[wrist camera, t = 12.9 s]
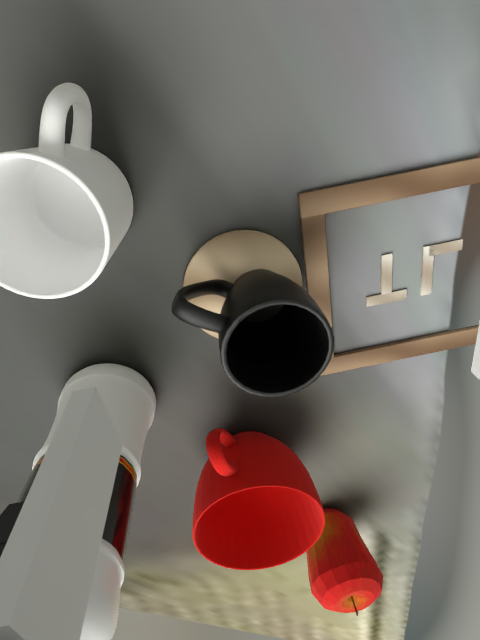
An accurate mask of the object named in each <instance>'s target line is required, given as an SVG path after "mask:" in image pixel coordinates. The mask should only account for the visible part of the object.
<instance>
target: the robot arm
mask: <svg viewBox="0 0 480 640" xmlns="http://www.w3.org/2000/svg"><path fill="white" fill-rule="evenodd" d="M471 372H472V373H473V374H474V375H475V376H476V377H477V378H478V379H479V380H480V323H479V328H478V334H477V340H476V346H475V352H474V357H473V364H472V369H471ZM122 445H123V442H122V440H121V438H120V436H119V434H118V432H117V430H116V428H115V426H114V424H113V422H112V420H111V418H110V416H109V414H108V412H107V410H106V408H105V405H104V403H103V401H102V399H101V397H100V395H99V393H98V391H97V389H96V387H91V388H86V389H81V390H76V391H73V392H72V394H71V396H70V399H69V401H68V403H67V406H66V408H65V410H64V412H63V415H62V417H61V419H60V422H59V424H58V426H57V429H56V431H55V433H54V435H53V438H52V440H51V442H50V445H49V447H48V449H47V451H46V454H45V456H44V458H43V461H42V463H41V465H40V468H39V470H38V472H37V474H36V477H35V479H34V481H33V484H32V486H31V488H30V490H29V493H28V495H27V497H26V500H25V501H24V502H19V503H14V504H9V505H8V506H7V508H6V509H5V510H4V511H3V513H2V514H1V515H0V640H80V636H81V631H82V627H83V622H84V618H85V613H86V608H87V604H88V599H89V595H90V590H91V586H92V581H93V577H94V572H95V567H96V563H97V558H98V554H99V549H100V545H101V540H102V536H103V531H104V527H105V522H106V517H107V513H108V508H109V504H110V499H111V495H112V490H113V486H114V481H115V476H116V472H117V467H118V463H119V458H120V454H121V449H122Z"/></svg>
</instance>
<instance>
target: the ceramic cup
mask: <svg viewBox="0 0 480 640" xmlns="http://www.w3.org/2000/svg"><path fill="white" fill-rule="evenodd" d="M220 442H221V443H222V444H221V443H220ZM206 448H207V453H208V456H209V459H208V461H207V462H206V464H205V466H204V468H203V470H202V473H201V476H200V479H199V482H198V486H197V490H196V495H195V502H194V513H193V540H194V544H195V546H196V548H197V549H198V551H199V552H200V554H201V555H203V556H204V557H205V558H206V559H207V560H209V561H211V562H213V563H215V564H217V565H220V566H223V567H226V568H231V569H237V570H256V569H264V568H270V567H274V566H277V565H281V564H284V563H286V562H288V561H291V560H293V559H295V558H297V557H298V556H300V555H302V554H303V553H305V552H306V551H307V550H308V549H310V548H311V547H312V546H313V545H314V544H315V543H316V541H317V540H318V539H319V537H320V536H321V534H322V532H323V529H324V525H325V513H324V509H323V506H322V504H321V501H320V498H319V495H318V493H317V490H316V488H315V486H314V483H313V481H312V479H311V477H310V475H309V473H308V471H307V469H306V468H305V466H304V465H303V463H302V462H301V461H300V459H299V458H298V457H297V455H296V454H295V453H294V452H293V451H292V450H291V449H290V448H289V447H288V446H286V445H285V444H284V443H282V442H281V441H279V440H277V439H275V438H273V437H271V436H268V435H265V434H264V433H261V432H256V431H245V432H241V433H237V434H235V435H233V436H232V435H231V434H230V433H229V432H227V431H226V430H225V429H222V428H217V429H214V430H212V431H211V432H210V433H209V434H208V435H207V438H206Z"/></svg>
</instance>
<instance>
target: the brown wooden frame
mask: <svg viewBox="0 0 480 640" xmlns="http://www.w3.org/2000/svg"><path fill="white" fill-rule="evenodd" d="M479 182H480V157H476V158H471V159H466V160H461V161H456V162H451V163H446V164H442V165H437V166H432V167H427V168H422V169H417V170H412V171H407V172H402V173H397V174H392V175H387V176H382V177H377V178H372V179H367V180H362V181H357V182H352V183H347V184H342V185H337V186H332V187H328V188H323V189H318V190H313V191H308V192H303V193H298V200H299V210H300V221H301V231H302V241H303V252H304V262H305V272H306V282H307V293H308V294H309V295H310V296H311V297H312V298H313V299H314V300H315V302H316V303H317V304H318V306H319V307H320V309H321V310H322V312H323V313H324V315H325V316H326V318H327V320H328V321H329V323H330V325H331V327H332V320H331V304H330V289H329V274H328V259H327V244H326V229H325V214H326V213H331V212H336V211H341V210H346V209H351V208H356V207H361V206H366V205H371V204H376V203H380V202H385V201H390V200H395V199H400V198H405V197H410V196H415V195H420V194H425V193H430V192H435V191H440V190H445V189H450V188H455V187H460V186H465V185H469V184H474V183H479ZM462 245H463V239H459V240H454V241H449V242H444V243H439V244H434V245H429V246H424V247H423V258H422V275H421V291H420V295H426V294H431V287H432V274H433V260H434V255H438V254H443V253H448V252H453V251H458V250H462ZM406 294H407V289H403V290H398V291H393V292H392V253H390V254H385V255H381V294H378V295H373V296H368V297H366V306H367V307H368V306H373V305H377V304H382V303H387V302H392V301H397V300H402V299H406ZM478 328H479V325H475V326H470V327H465V328H461V329H456V330H451V331H446V332H441V333H436V334H431V335H426V336H422V337H417V338H412V339H407V340H402V341H397V342H392V343H387V344H383V345H378V346H373V347H368V348H363V349H358V350H353V351H349V352H344V353H339V354H334V350H333V354H332V357H331V360H330V362H329V364H328V366H327V367H326V369H325V371H324V372H323V373H322V374H321V375H326V374H331V373H336V372H341V371H346V370H351V369H355V368H360V367H365V366H370V365H375V364H380V363H385V362H389V361H394V360H399V359H404V358H409V357H414V356H419V355H423V354H428V353H433V352H438V351H443V350H448V349H453V348H457V347H462V346H467V345H472V344H476V340H477V334H478ZM321 375H320V376H321Z"/></svg>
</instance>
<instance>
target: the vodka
mask: <svg viewBox="0 0 480 640" xmlns="http://www.w3.org/2000/svg"><path fill="white" fill-rule="evenodd" d="M91 387H96V389H97V391H98V393H99V395H100V397H101V399H102V401H103V403H104V405H105V408H106V410H107V412H108V414H109V416H110V418H111V420H112V422H113V424H114V426H115V428H116V430H117V432H118V434H119V436H120V438H121V440H122V442H123V445H122V449H121V454H120V458H119V463H118V467H117V472H116V476H115V481H114V486H113V490H112V495H111V499H110V504H109V508H108V513H107V517H106V522H105V527H104V531H103V536H102V540H101V545H100V549H99V554H98V558H97V563H96V567H95V572H94V577H93V581H92V586H91V590H90V595H89V599H88V604H87V608H86V613H85V618H84V622H83V627H82V631H81V636H80V640H111V639H112V637H113V634H114V632H115V629H116V625H117V619H118V612H119V600H120V587H121V586H122V583H123V580H124V559H125V553H126V547H127V541H128V535H129V529H130V523H131V517H132V511H133V505H134V499H135V493H136V487H137V485H138V484H139V481H140V478H141V467H140V464H141V455H142V451H143V447H144V442H145V438H146V434H147V432H148V429H149V428H150V426H151V424H152V422H153V419H154V414H155V409H156V397H155V393H154V391H153V389H152V387H151V385H150V384H149V382H148V381H147V380H146V379H145V378H144V377H143V376H142V375H141V374H140V373H138V372H137V371H135V370H133V369H131V368H129V367H126V366H123V365H119V364H112V363H102V364H95V365H92V366H89V367H86V368H84V369H82V370H80V371H78V372H77V373H75V374H74V375H73V376H72V377H71V378H70V379H69V380H68V381H67V383H66V384H65V386H64V388H63V390H62V393H61V395H60V397H59V401H58V411H57V415H56V418H55V420H54V423H53V426H52V428H51V431H50V433H49V436H48V438H47V440H46V442H45V443H44V445H43V447H42V448H41V449H40V451H39V452H38V453H37V455H36V456H35V459H34V461H33V467H32V472H31V474H30V477H29V479H28V481H27V483H26V485H25V487H24V489H23V491H22V493H21V496H20V498H19V500H18V502H17V503H19V502H24V501H25V500H26V497H27V495H28V493H29V490H30V488H31V486H32V484H33V481H34V479H35V477H36V474H37V472H38V470H39V468H40V465H41V463H42V461H43V458H44V456H45V454H46V451H47V449H48V447H49V445H50V442H51V440H52V438H53V435H54V433H55V431H56V429H57V426H58V424H59V422H60V419H61V417H62V415H63V412H64V410H65V408H66V406H67V403H68V401H69V399H70V396H71V394H72V392H73V391H76V390H81V389H86V388H91Z"/></svg>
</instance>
